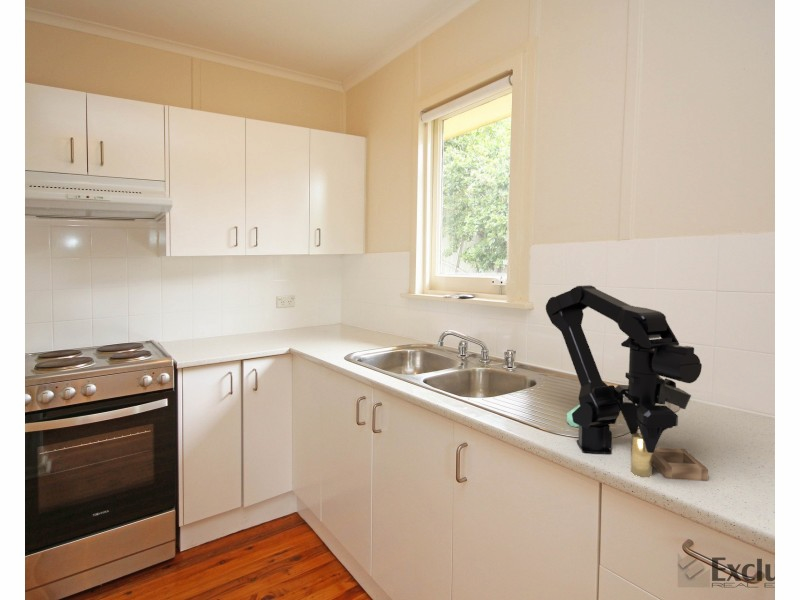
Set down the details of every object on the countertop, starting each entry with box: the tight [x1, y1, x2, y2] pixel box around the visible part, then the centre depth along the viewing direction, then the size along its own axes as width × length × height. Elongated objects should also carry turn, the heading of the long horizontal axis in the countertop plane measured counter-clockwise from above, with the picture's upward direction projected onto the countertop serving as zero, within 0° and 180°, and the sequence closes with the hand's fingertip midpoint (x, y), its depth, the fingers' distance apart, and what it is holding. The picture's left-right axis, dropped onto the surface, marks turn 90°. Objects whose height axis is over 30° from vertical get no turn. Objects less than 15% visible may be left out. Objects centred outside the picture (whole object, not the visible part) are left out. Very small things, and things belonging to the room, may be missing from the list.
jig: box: [652, 447, 709, 482], centre depth 97 cm, size 8×10×2 cm
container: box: [566, 403, 580, 428], centre depth 131 cm, size 6×6×25 cm
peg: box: [630, 432, 653, 478], centre depth 95 cm, size 4×4×8 cm
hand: (641, 443), depth 95 cm, fingers open, 9 cm apart
